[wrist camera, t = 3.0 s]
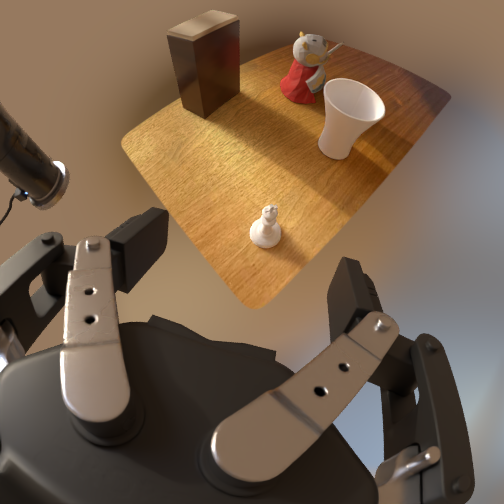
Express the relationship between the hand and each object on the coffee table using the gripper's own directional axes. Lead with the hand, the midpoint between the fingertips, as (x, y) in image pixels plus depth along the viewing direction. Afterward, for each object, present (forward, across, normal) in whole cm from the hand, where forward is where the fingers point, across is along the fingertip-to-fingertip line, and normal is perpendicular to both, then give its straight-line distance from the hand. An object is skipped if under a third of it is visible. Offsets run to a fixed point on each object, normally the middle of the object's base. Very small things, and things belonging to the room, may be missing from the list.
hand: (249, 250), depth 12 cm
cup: (+44, -8, -3) cm, 44 cm away
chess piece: (+29, 0, +12) cm, 31 cm away
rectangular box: (+47, +18, -7) cm, 51 cm away
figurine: (+55, 0, -14) cm, 57 cm away
